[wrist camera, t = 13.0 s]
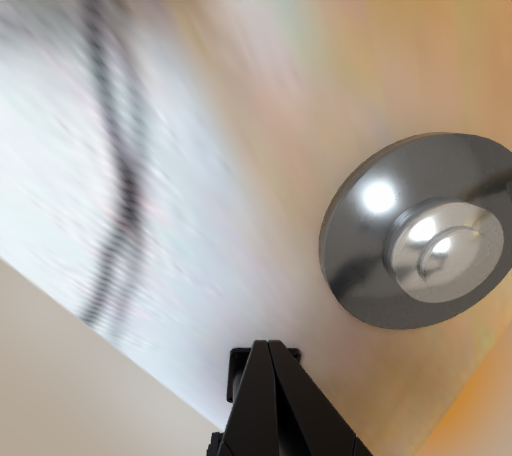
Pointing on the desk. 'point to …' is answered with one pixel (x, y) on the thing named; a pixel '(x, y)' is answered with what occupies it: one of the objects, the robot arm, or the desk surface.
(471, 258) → the cover
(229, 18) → the desk surface
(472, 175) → the turntable
